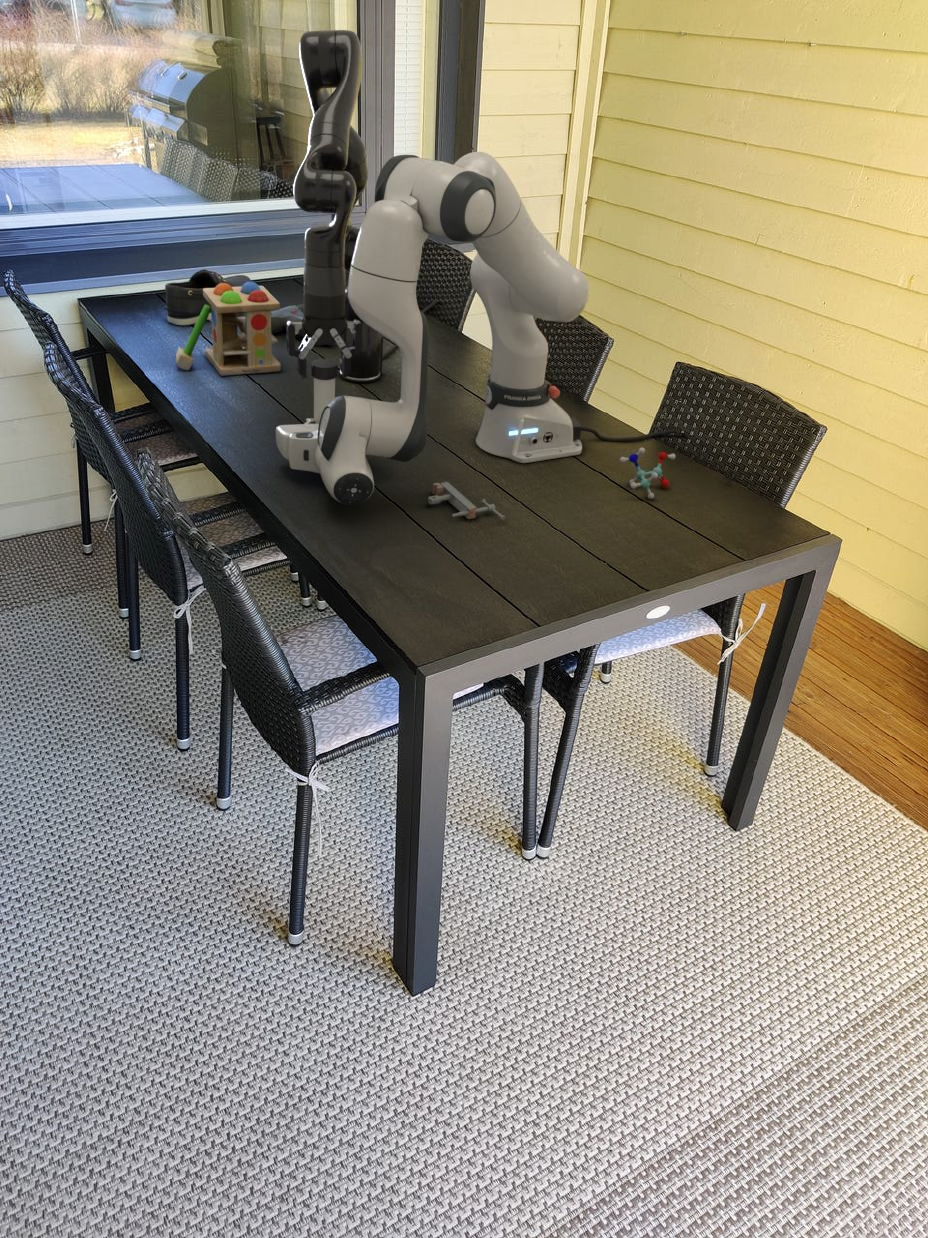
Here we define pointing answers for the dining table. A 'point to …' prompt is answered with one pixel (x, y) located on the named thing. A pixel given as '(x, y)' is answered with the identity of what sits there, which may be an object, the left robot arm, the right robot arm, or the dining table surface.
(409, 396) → the right robot arm
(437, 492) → the clamp
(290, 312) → the power drill
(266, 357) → the pounding bench toy
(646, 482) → the molecular model
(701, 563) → the dining table surface
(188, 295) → the boat shoe
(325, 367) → the lid
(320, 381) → the jar
